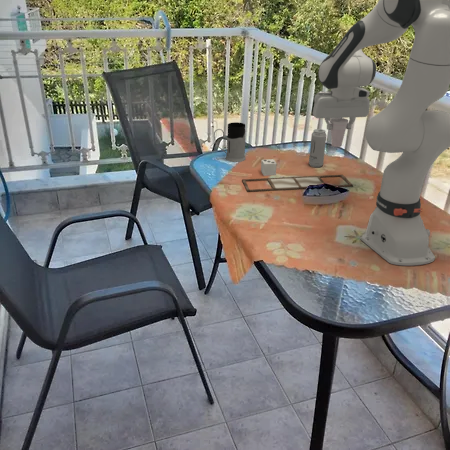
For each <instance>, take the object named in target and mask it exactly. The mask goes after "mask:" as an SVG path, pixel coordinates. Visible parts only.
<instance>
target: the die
mask: <svg viewBox="0 0 450 450" xmlns="http://www.w3.org/2000/svg"><path fill="white" fill-rule="evenodd" d="M260 161H261V162H260V163H261V164H260V165H261V166H260V173H261V175H263V176H264V177H265V176H276V175H277V164H278V163H277V162H276V160H275V159H261V160H260Z"/></svg>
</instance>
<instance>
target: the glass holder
mask: <svg viewBox="0 0 450 450" xmlns="http://www.w3.org/2000/svg"><path fill="white" fill-rule="evenodd" d="M217 131H221V132H222V137H223V139H226V150H224V148H221V146H219V144H218V143H217V141H216V132H217ZM224 131H225V130H223V129H222V128H217V129H215V130H214V132H213V139H214V143H215V144H216V147H218V148H219V149H220V150H221V151H223V152H224V153H225V154H226V155H225V160H226V161H228V162H230V163H241V162H245V161H246V160H247V159H246V155H245V154H246V132H247V131H246V124H245V123H244V122H236V121H234V122H230V123H227V136H226V137H225V132H224Z"/></svg>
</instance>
